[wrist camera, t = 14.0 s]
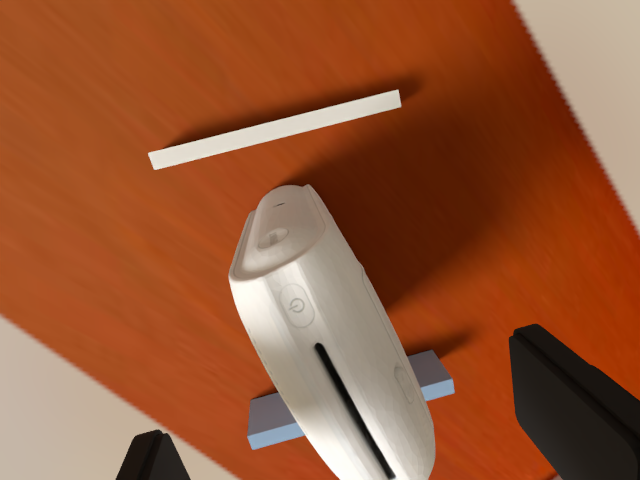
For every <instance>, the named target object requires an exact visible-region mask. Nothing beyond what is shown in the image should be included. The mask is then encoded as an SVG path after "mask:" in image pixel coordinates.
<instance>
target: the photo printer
mask: <svg viewBox="0 0 640 480" xmlns="http://www.w3.org/2000/svg"><path fill="white" fill-rule="evenodd" d="M229 282H230V286H231V290H232V294H233V297H234V301H235V304H236V307H237V310H238V313H239V315H240V318H241V320H242V322H243V324H244V326H245V329H246V331H247V333H248V335H249V337H250V339H251V341H252V344H253V345H254V347H255V349H256V351H257V354H258V355H259V357H260V359H261V361H262V363H263V365H264V367H265V369H266V371H267V373H268V374H269V376H270V378H271V380H272V382H273V383H274V385H275V387H276V389H277V390H278V392H279V394H280V395H281V397H282V399H283V400H284V402H285V404H286V405H287V407H288V409H289V410H290V412H291V414H292V415H293V417H294V418H295V420H296V422H297V423H298V425H299V426H300V428H301V429H302V431H303V432H304V434H305V435H306V437H307V438H308V440H309V441H310V442H311V444H312V445H313V447H314V448H315V449H316V451H317V452H318V454H319V455H320V456H321V458H322V459H323V460H324V461H325V463H326V464H327V465H328V466H329V468H330V469H331V470H332V471H333V472H334V473H335V474H336V475H337V477H338V478H339V479H340V480H428V478H429V476H430V474H431V471H432V469H433V465H434V461H435V439H434V426H433V422H432V418H431V415H430V412H429V409H428V407H427V404H426V401H425V398H424V396H423V393H422V391H421V388H420V386H419V384H418V381H417V379H416V376H415V374H414V372H413V370H412V367H411V365H410V363H409V360H408V358H407V356H406V354H405V352H404V349H403V347H402V345H401V343H400V341H399V338H398V336H397V334H396V332H395V330H394V328H393V326H392V324H391V322H390V320H389V318H388V316H387V314H386V312H385V310H384V307H383V306H382V304H381V302H380V300H379V298H378V296H377V294H376V292H375V290H374V288H373V286H372V284H371V282H370V281H369V279H368V277H367V275H366V273H365V271H364V268H363V266H362V265H361V264H360V263H359V262H358V260H357V259H356V257H355V255H354V253H353V252H352V250H351V248H350V247H349V245H348V243H347V242H346V240H345V238H344V237H343V235H342V233H341V232H340V230H339V228H338V227H337V225H336V223H335V221H334V220H333V217H332V215H331V214H330V213H329V211H328V209H327V208H326V206H325V204H324V203H323V201H322V200H321V198H320V197H319V195H318V194H317V193H316V191H315V190H314V189H313V188H312V187H311V185H309V184H307V185H305V186H303V187H300V186H297V185H285V186H280V187H278V188H275V189H273V190H272V191H270V192H269V193H268V194H266V195H265V196H264V197H263V198H262V200H261V201H260V203H259V205H258V207H257V209H256V210H254V211H251V212H250V214H249V215H248V218H247V220H246V223H245V226H244V229H243V232H242V234H241V238H240V241H239V244H238V246H237V249H236V252H235V255H234V259H233V262H232V265H231V267H230V270H229Z"/></svg>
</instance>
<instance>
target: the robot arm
mask: <svg viewBox="0 0 640 480" xmlns="http://www.w3.org/2000/svg"><path fill="white" fill-rule="evenodd" d="M509 348H510V359H511V371H512V382H513V393H514V404H515V414H516V417H517V420H518V422H519V424H520V426H521V427H522V429H523V430H524V431H525V432H526V434H527V435H528V436H529V437H530V439H531V440H532V441H533V442H534V444H535V445H536V446H537V448H538V449H539V450H540V451H541V453H542V454H543V455H544V456H545V458H546V459H547V460H548V461H549V463H550V464H551V465H552V466H553V468H554V469H555V470H556V471H557V473H558V474H559V475H560V476H561V478H562V479H563V480H640V401H639V400H638V399H636V398H635V397H634V396H633V395H631V394H630V393H629V392H628V391H626V390H625V389H624V388H622V387H621V386H620V385H619V384H617V383H616V382H615V381H614V380H612V379H611V378H610V377H608V376H607V375H606V374H605V373H603V372H602V371H601V370H599V369H598V368H596V367H595V366H593V365H590V364H588V363H587V362H586V361H585V360H583V359H582V358H581V357H580V356H578V355H577V354H576V353H574V352H573V351H572V350H571V349H569V348H568V347H567V346H566V345H564V344H563V343H562V342H561V341H559V340H558V339H557V338H555V337H554V336H553V335H552V334H550V333H549V332H548V331H547V330H545V329H544V328H543V327H542V326H540V325H538V324H532V325H528V326H525V327H521V328H518V329H515V330H514V332H513V336H511V337H509ZM116 480H191V479H190V477H189V475H188V473H187V471H186V469H185V467H184V465H183V463H182V460H181V458H180V456H179V454H178V452H177V450H176V448H175V446H174V444H173V442H172V439H171V437H170V436H169V434H168V433H165V434H163V433H162V431H160V430H154V431H150V432H147V433H143V434H139V435H137V436H135V437H134V439H133V440H132V442H131V445H130V447H129V449H128V452H127V454H126V457H125V459H124V461H123V464H122V466H121V468H120V471H119V473H118V475H117V478H116Z"/></svg>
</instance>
